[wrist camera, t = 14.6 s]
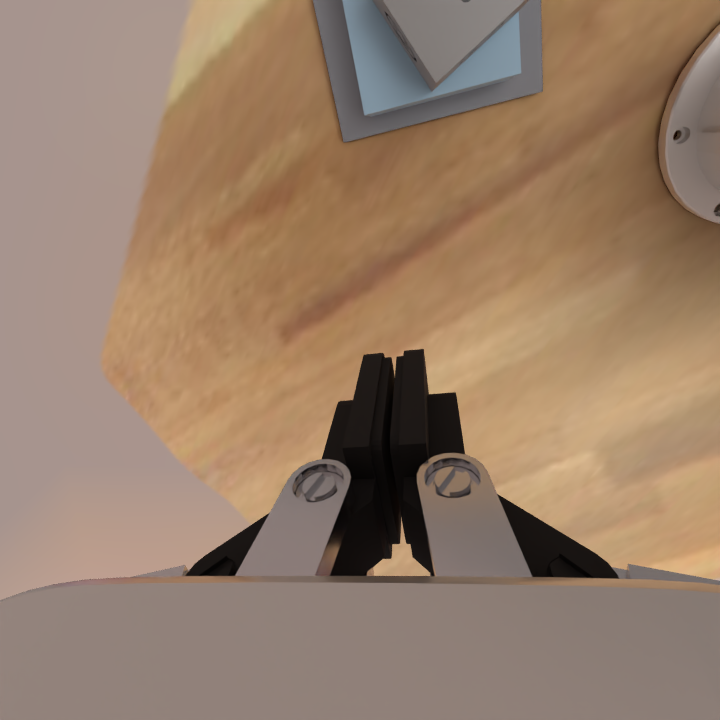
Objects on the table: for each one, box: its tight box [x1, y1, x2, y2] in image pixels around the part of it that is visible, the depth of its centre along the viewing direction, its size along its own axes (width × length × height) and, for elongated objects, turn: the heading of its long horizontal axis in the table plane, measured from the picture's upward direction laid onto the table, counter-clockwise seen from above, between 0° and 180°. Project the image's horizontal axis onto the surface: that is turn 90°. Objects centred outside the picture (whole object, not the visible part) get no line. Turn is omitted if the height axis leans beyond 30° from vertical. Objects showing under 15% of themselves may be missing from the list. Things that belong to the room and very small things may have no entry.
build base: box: [313, 0, 543, 142], centre depth 22 cm, size 12×10×5 cm
